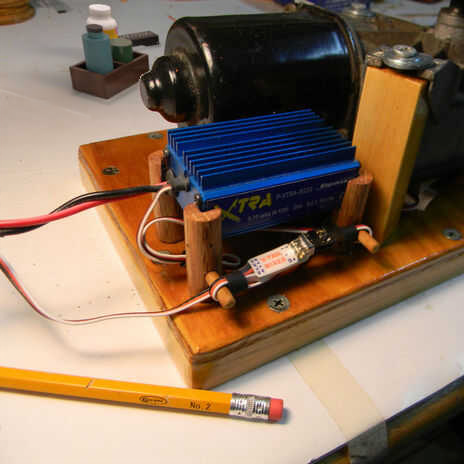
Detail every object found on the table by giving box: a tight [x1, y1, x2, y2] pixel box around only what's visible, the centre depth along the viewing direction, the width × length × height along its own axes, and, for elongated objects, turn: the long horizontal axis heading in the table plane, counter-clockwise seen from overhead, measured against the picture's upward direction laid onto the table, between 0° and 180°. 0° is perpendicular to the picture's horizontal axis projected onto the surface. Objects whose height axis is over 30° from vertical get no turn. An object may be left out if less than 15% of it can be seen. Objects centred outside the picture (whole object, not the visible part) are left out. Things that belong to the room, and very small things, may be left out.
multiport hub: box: [118, 30, 160, 48], centre depth 129 cm, size 4×11×2 cm, turn 139°
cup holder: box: [68, 49, 151, 100], centre depth 107 cm, size 9×16×6 cm, turn 162°
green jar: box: [110, 38, 134, 64], centre depth 109 cm, size 5×5×8 cm
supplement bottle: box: [86, 3, 119, 39], centre depth 114 cm, size 7×7×13 cm
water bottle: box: [81, 24, 114, 75], centre depth 102 cm, size 5×5×13 cm
